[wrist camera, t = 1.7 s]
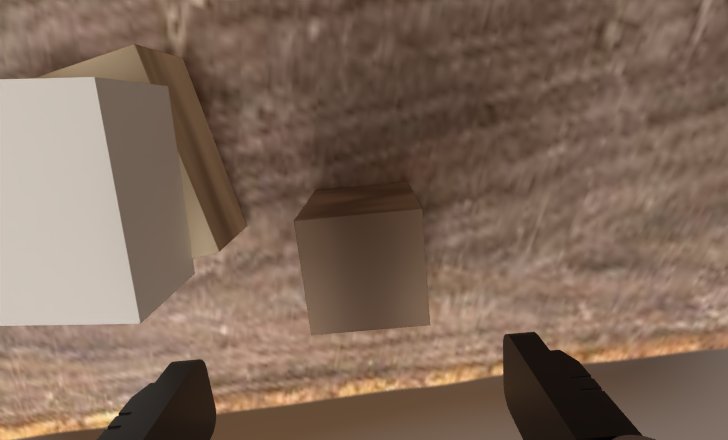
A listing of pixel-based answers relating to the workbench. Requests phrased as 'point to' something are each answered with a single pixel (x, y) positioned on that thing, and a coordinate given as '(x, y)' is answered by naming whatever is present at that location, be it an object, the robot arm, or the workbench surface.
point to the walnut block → (363, 259)
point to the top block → (88, 202)
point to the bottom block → (179, 141)
